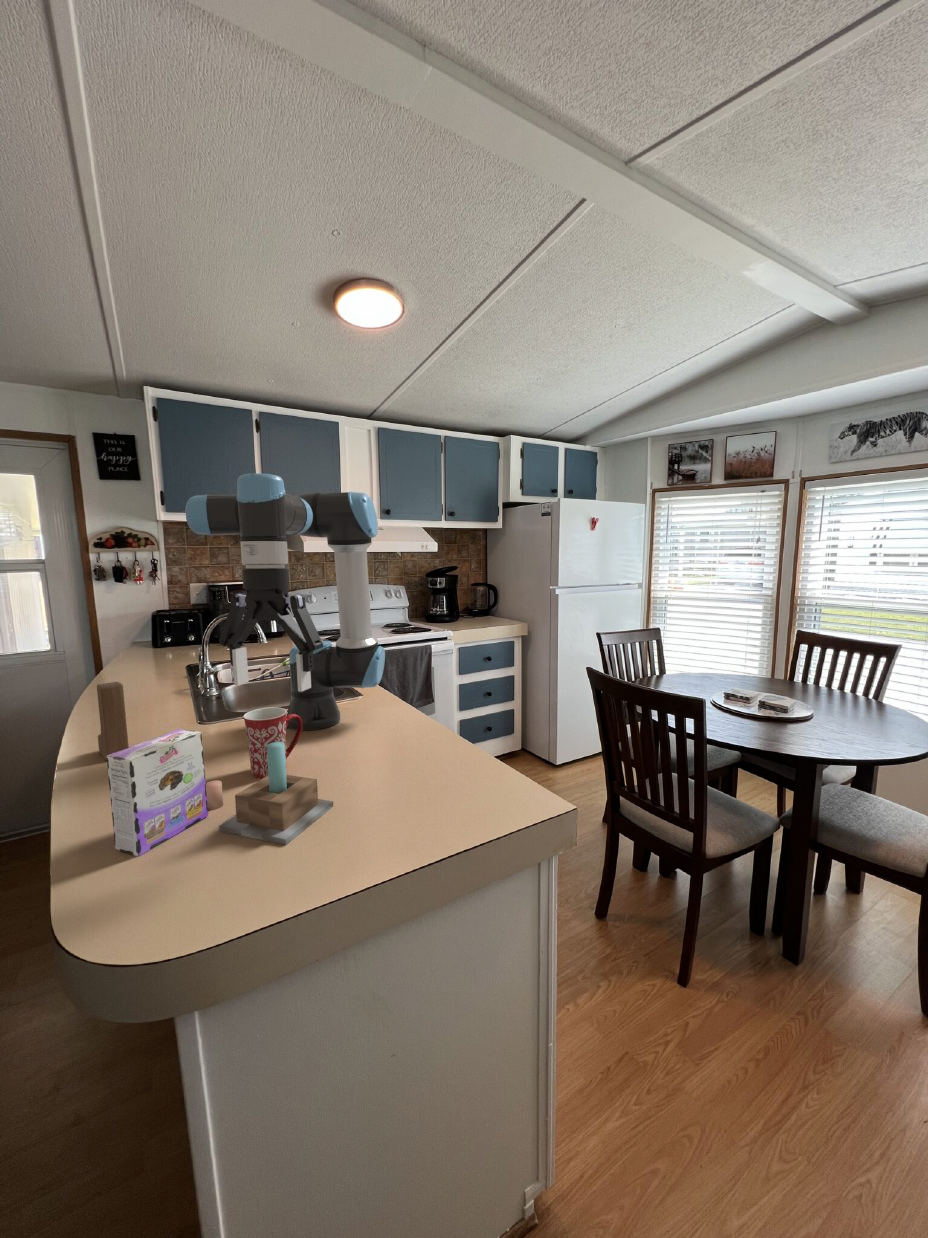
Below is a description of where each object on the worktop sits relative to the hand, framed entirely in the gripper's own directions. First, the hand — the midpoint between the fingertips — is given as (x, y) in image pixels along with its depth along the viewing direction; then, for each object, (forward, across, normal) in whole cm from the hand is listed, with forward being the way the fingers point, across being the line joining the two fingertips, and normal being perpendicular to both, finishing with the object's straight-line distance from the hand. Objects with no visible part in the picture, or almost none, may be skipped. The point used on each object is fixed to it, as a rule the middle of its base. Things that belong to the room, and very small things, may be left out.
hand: (272, 686), depth 91 cm
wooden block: (+25, -59, +13) cm, 65 cm away
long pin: (+25, 0, 0) cm, 25 cm away
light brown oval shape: (+25, -15, 0) cm, 29 cm away
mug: (+25, -15, +18) cm, 34 cm away
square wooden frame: (+25, 0, 0) cm, 25 cm away
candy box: (+25, -16, -11) cm, 31 cm away
